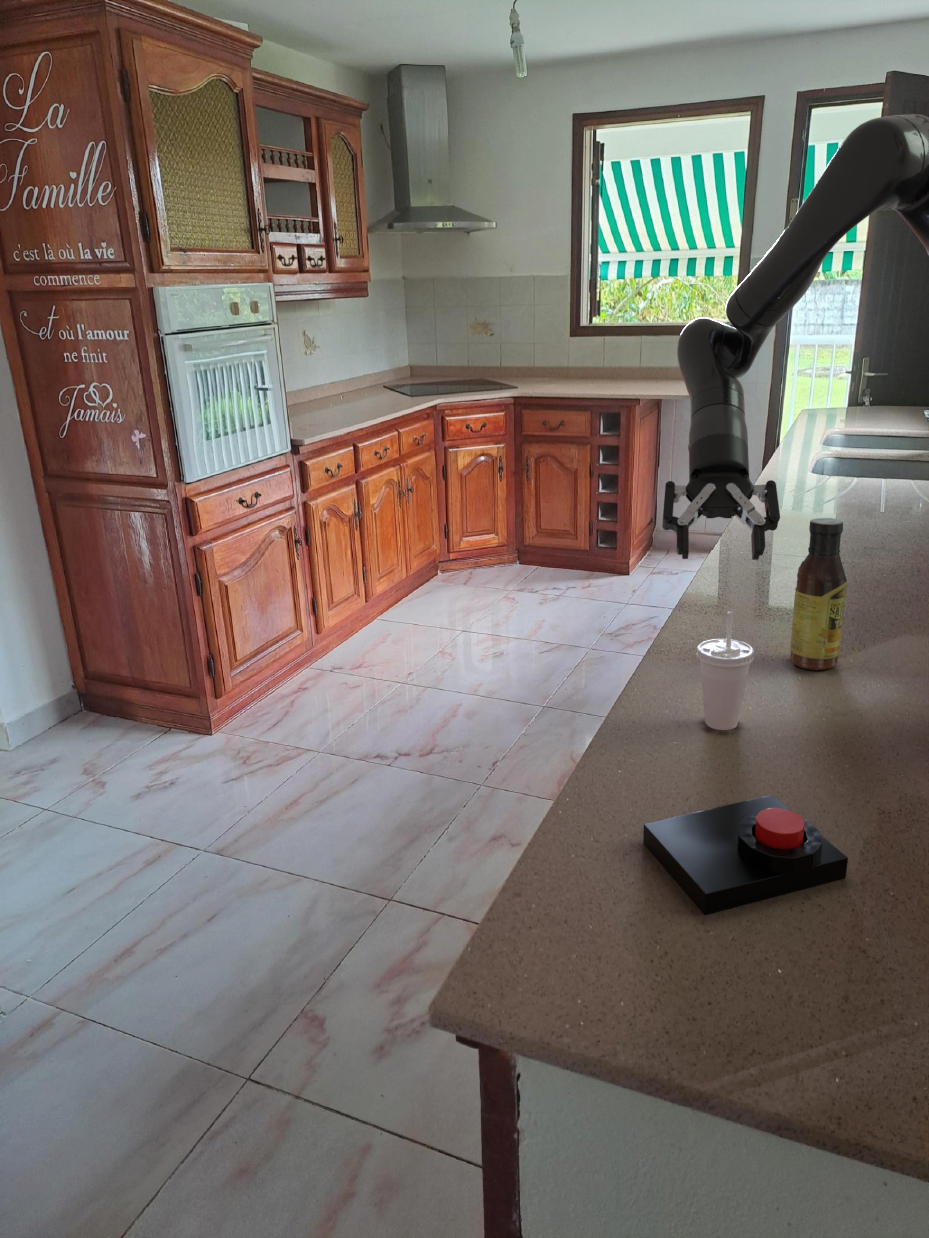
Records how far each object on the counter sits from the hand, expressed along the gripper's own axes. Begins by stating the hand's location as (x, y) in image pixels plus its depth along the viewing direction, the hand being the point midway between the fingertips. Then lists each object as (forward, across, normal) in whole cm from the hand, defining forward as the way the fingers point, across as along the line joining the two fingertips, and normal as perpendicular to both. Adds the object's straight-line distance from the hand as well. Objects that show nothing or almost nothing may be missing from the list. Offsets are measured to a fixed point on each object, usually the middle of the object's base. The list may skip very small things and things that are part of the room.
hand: (720, 556), depth 110 cm
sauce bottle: (+7, +14, +18) cm, 23 cm away
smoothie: (+20, 0, +4) cm, 21 cm away
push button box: (+40, 0, -15) cm, 42 cm away
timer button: (+38, +2, -19) cm, 42 cm away
